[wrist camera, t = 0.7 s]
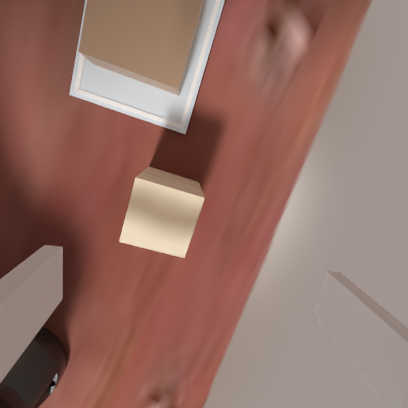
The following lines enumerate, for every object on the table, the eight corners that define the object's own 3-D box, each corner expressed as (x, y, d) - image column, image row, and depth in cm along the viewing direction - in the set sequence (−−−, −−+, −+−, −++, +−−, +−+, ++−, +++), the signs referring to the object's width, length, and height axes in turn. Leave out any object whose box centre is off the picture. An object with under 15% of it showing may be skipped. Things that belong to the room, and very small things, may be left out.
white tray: (185, 134, 30) (185, 133, 25) (73, 96, 28) (50, 87, 23) (232, -26, 26) (243, -64, 21) (104, -87, 23) (84, -145, 18)
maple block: (184, 227, 33) (184, 258, 25) (136, 214, 32) (119, 241, 24) (198, 181, 32) (204, 197, 23) (149, 166, 31) (135, 177, 22)
